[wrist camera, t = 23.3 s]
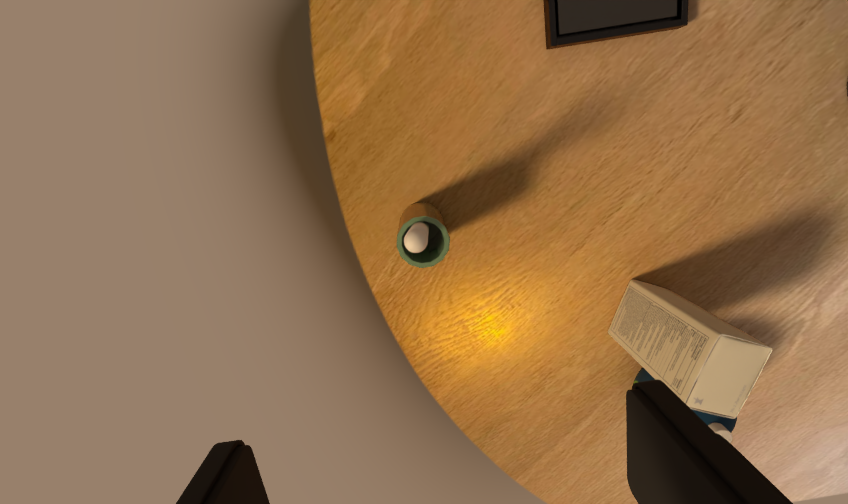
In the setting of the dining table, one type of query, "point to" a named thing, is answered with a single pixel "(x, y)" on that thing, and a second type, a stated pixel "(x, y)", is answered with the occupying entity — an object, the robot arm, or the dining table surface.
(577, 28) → the screen
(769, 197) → the dining table surface
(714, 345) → the cosmetic box
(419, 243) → the stylus
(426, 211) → the pen pot
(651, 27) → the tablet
